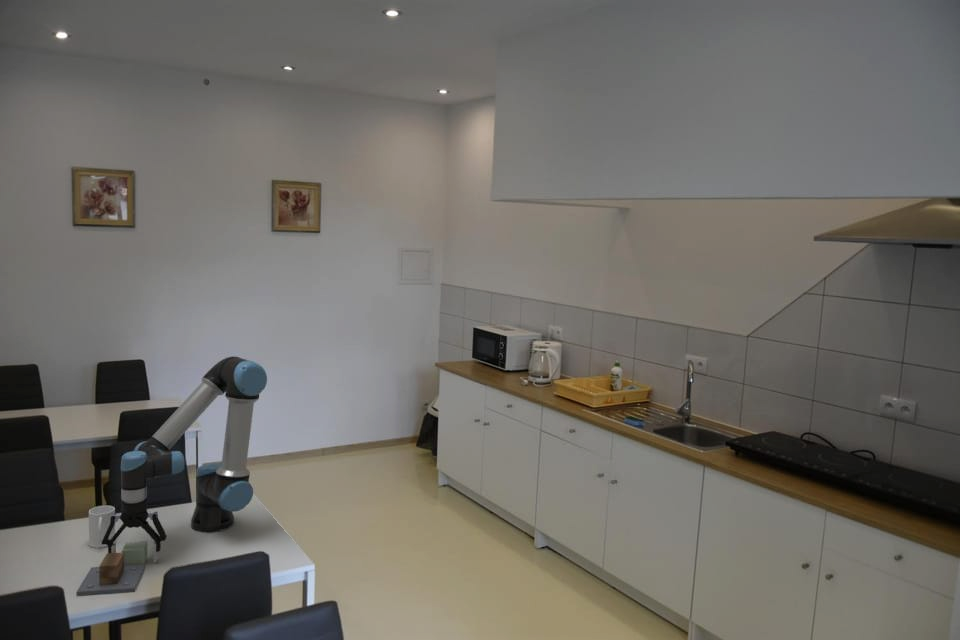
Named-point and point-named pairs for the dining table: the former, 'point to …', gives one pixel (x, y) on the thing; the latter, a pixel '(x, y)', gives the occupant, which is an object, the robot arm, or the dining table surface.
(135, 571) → the plate
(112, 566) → the walnut brick
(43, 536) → the dining table surface
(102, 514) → the mug
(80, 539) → the dining table surface
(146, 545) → the sage brick
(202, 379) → the robot arm
